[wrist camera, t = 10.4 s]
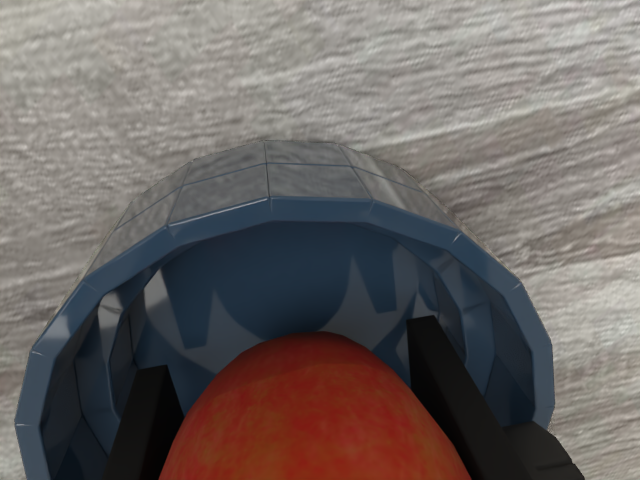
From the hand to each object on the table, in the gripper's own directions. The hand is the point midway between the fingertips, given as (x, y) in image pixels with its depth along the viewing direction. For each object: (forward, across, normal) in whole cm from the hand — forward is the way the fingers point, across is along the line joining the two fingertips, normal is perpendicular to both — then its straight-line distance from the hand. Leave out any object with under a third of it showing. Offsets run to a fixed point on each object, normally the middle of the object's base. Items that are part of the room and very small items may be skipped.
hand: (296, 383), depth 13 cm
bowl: (+3, 0, 0) cm, 3 cm away
